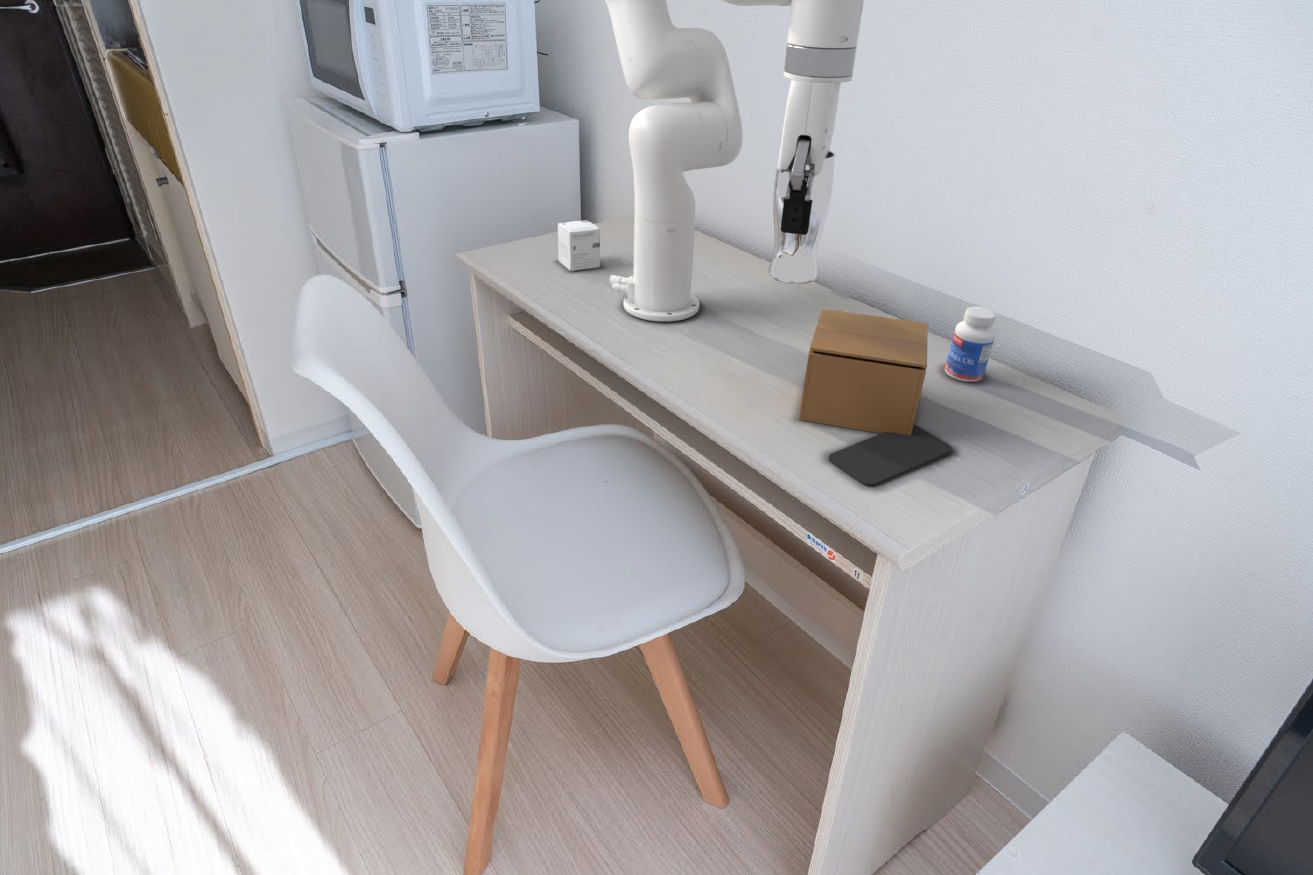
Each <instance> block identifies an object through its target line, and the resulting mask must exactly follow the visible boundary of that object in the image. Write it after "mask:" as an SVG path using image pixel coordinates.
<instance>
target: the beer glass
mask: <svg viewBox="0 0 1313 875" xmlns="http://www.w3.org/2000/svg"><path fill="white" fill-rule="evenodd" d="M809 152H810V150H809ZM778 160H779V158H777V161H778ZM836 161H837V153H836V152H834V151H833V150H831V149H830V150H829V154H828V157H827V158H825V159H824V163H823V166H822V169H821V172H820V173H819V174H818V175H816V176H814V180H813V185H812V191H811V197H810V200H812V208H811V215H810V223H809V230H808V233H807V234H806V235H800V234H792V233H784V232H782V231H781V221H782V213H783V204H784V197H785V196H786V189H787V184H788V178H789V172H790V166H791V163H790V166H789V168H788V169H787V170H782V171H784V172H783V173H780V172H779V170H778V168H777V167H778V163H777V165H776V170H775V171H776V172H775V176H774V184H773V193H772V212H773V214H772V215H773V226H774V227H773V228H774V230H773V231H774V246H773V252H772V256H771V261H770V263H769V266H768V271H767V275H768V276H769V278H771V279H772V280H774V281H777V282H780V283H784V284H788V285H789V284H790V285H805V284H810V283H812V282H814V281H815V280H817V278H818V266H817V265H818V264H817V261H818V260H817V259H818V258H817V257H818V256H817V255H818V249H819V243H820V240H821V236H822V233H823V231H824V227H825V224H826V221H827V218H828V214H829V212H830V208H831V203H832V199H833V194H834V186H835V178H836V177H835V176H836V175H835V173H836ZM811 167H812V166H810V165H806V167H805V171H809V172H811ZM804 180H806V183H807V182H808V179H806V178H804ZM806 187H807V185H806Z"/></svg>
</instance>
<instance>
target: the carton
mask: <svg viewBox="0 0 1313 875" xmlns="http://www.w3.org/2000/svg"><path fill="white" fill-rule="evenodd" d="M806 362H807V363H806V368H805V377H804V383H803V390H802V396H801V402H800V403H801V404H800V409H799V417H798V420H799V421H806V422H810V423H816V424H822V425H827V426H833V427H834V426H835V427H840V428H845V429H852V430H857V431H864V432H867V433H875V434H882V433H884V432H892V433H898V434H904V435H910V436H911V433H912V429H913V425H915V420H916V416H917V412H918V408H919V403H920V399H921V395H922V392H923V391H922V390H923V387H924V383H925V379H926V374H927V367H928V342H927V343H920V342H913V341H906V340H899V339H893V338H886V337H879V336H872V335H865V334H858V333H851V332H844V331H838V330H831V329H824V328H817V326H816V327H815V329H814V333H813V337H812V340H811V343H810V346H809V351H808V355H807V361H806Z"/></svg>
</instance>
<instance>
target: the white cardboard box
mask: <svg viewBox="0 0 1313 875" xmlns="http://www.w3.org/2000/svg"><path fill="white" fill-rule="evenodd" d="M557 244H558V245H557V246H558V249H557V250H558V251H557V252H558V262H559V263H560V264H562V265H563V267H565V268H566V269H567V270H569V271H570V272H574V271H580V270H588V269H589V270H590V269H598V268H600V267H601V229H600V227H599V226H597V225H595V224H594V223H592V222H591V221H589V219H586V220H572V221H567V222H558V223H557Z"/></svg>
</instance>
